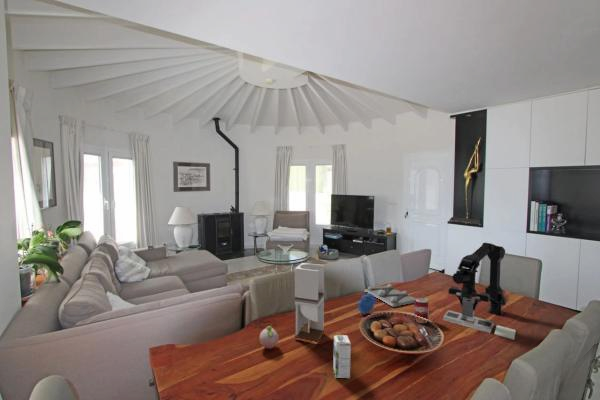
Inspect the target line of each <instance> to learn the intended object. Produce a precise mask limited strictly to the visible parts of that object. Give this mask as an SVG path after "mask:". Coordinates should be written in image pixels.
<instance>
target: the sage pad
mask: <svg viewBox="0 0 600 400" xmlns="http://www.w3.org/2000/svg"><path fill="white" fill-rule="evenodd" d="M493 335H495V336H500V337H501V338H506V339H509V340H513V341H514V340H515V337H516V329H512V328H510V327H506V326H501V325H496V327H495V331H494V333H493Z"/></svg>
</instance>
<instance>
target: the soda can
mask: <svg viewBox="0 0 600 400" xmlns="http://www.w3.org/2000/svg"><path fill="white" fill-rule="evenodd" d="M415 298H416V299H415V300H414V303H413V315H414V314H415V315H417V316H420V317H423V318H426V319H428V320H429V307H430V302H429V300H428V299H426V298H424V297H415Z"/></svg>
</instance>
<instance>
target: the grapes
mask: <svg viewBox="0 0 600 400" xmlns="http://www.w3.org/2000/svg"><path fill="white" fill-rule="evenodd" d="M376 303H377V301H376V298H375V296H374V295H371V294H370V293H366V295H365V294H364V295H362V296H361V299H359V301H358V303H357V304H358V307H357V310H358V311H360V314H361V313H364V314H366V313H368V314H369V313H370V311H372V310H374V308H375V307H374V305H375V304H376Z"/></svg>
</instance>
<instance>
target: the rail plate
mask: <svg viewBox="0 0 600 400" xmlns="http://www.w3.org/2000/svg"><path fill="white" fill-rule="evenodd" d="M442 318H443V320H442V321H445V322H448V323H452V324H455V325H459V326H463V327H467V328H469V329H470V328H471V329H474V330H477V331H481V332H485V333H487V334H491V333H492V330H493V328H494V321H492V320H490V319H489V320H488V319H486V318H481V317H478V316H475V315H474V316H473V318H472V317H468V316H464V315H462V312H458V311H453V310H449V309H448V310H447V311H446V313H445V314H444V315H443V317H442Z"/></svg>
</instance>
